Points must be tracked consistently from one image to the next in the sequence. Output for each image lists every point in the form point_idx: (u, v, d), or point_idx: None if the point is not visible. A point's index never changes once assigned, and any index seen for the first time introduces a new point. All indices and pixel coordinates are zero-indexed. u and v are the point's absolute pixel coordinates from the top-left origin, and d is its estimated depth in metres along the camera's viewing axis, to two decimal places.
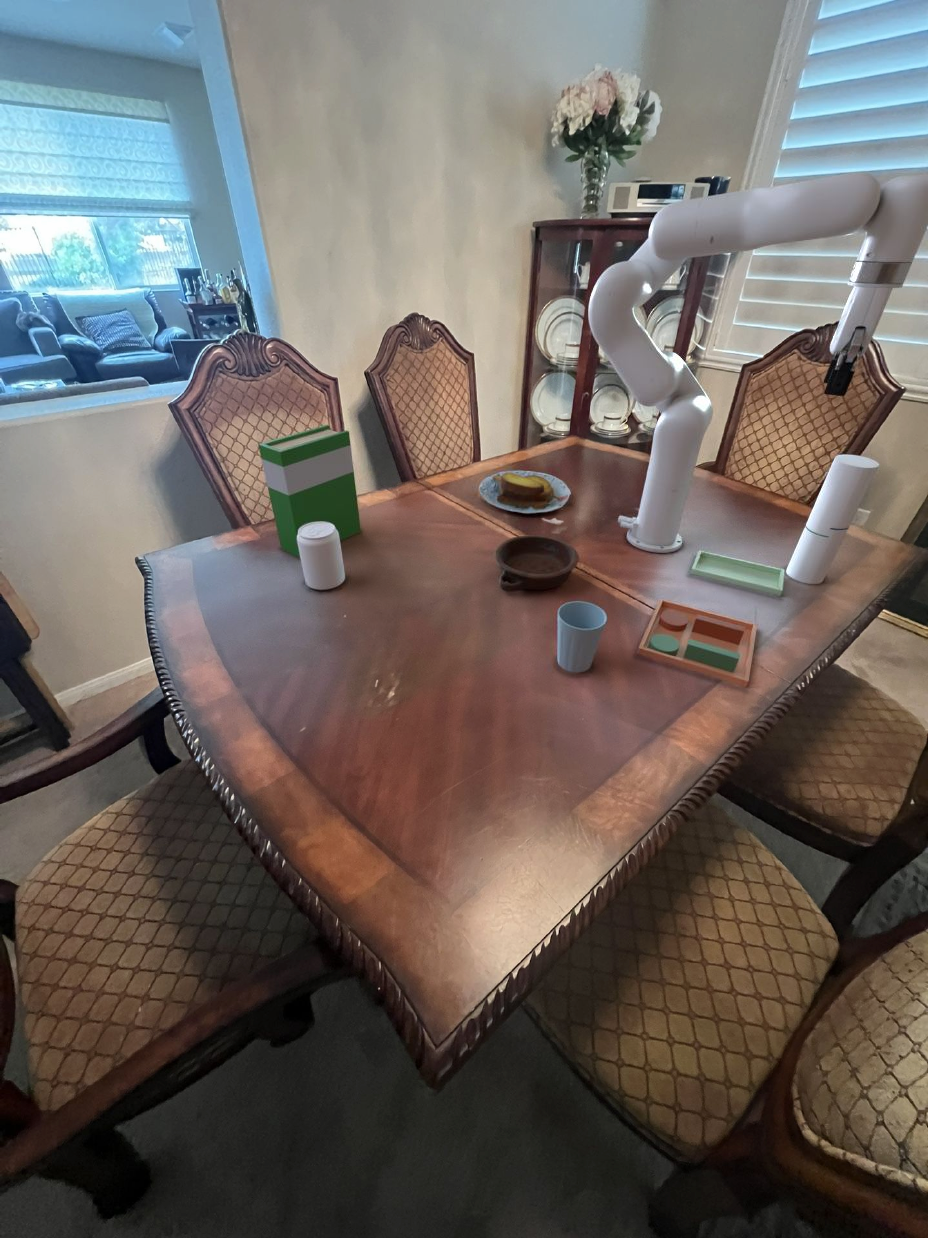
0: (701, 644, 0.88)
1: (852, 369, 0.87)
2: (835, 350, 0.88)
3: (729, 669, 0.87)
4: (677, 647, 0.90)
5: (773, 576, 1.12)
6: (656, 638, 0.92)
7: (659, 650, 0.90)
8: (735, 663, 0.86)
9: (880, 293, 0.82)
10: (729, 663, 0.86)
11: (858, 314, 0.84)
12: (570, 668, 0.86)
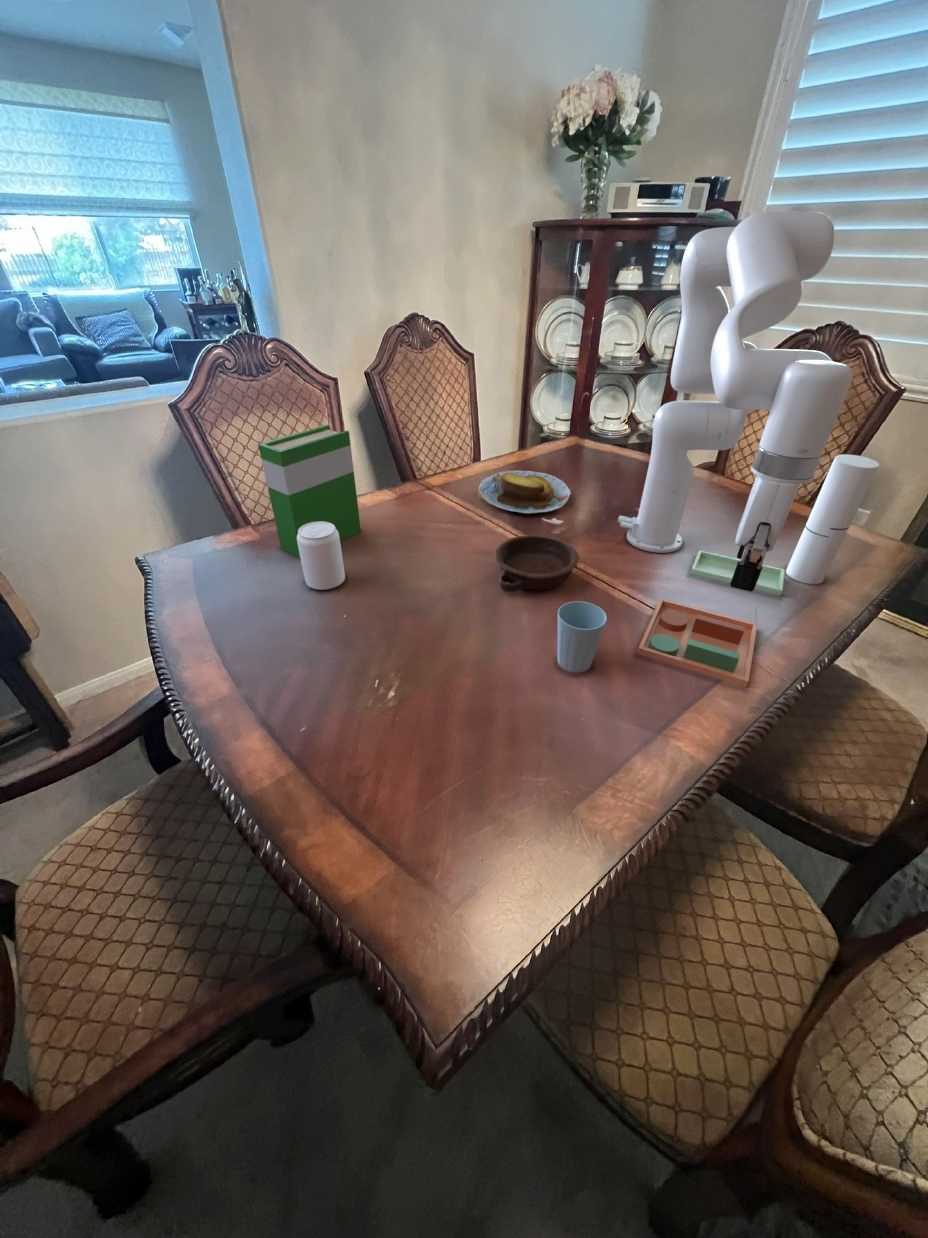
0: (701, 644, 0.88)
1: (758, 567, 0.73)
2: (739, 543, 0.74)
3: (729, 669, 0.87)
4: (677, 647, 0.90)
5: (773, 576, 1.12)
6: (656, 638, 0.92)
7: (659, 650, 0.90)
8: (735, 663, 0.86)
9: (785, 490, 0.69)
10: (729, 663, 0.86)
11: (761, 510, 0.70)
12: (570, 668, 0.86)
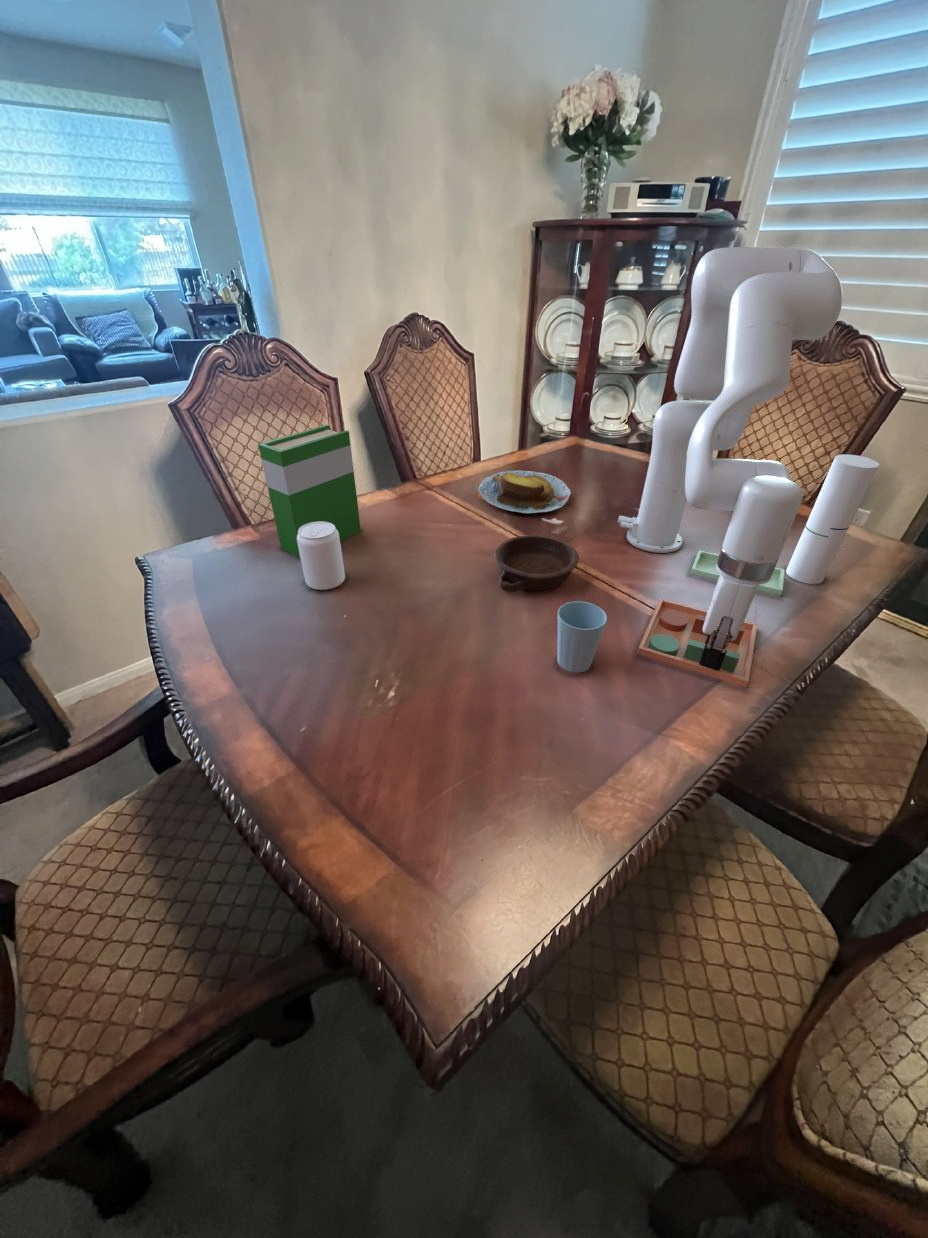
0: (701, 644, 0.88)
1: (722, 652, 0.83)
2: (705, 632, 0.80)
3: (729, 669, 0.87)
4: (677, 647, 0.90)
5: (773, 576, 1.12)
6: (656, 638, 0.92)
7: (659, 650, 0.90)
8: (735, 663, 0.86)
9: (744, 590, 0.75)
10: (729, 663, 0.86)
11: (724, 606, 0.77)
12: (570, 668, 0.86)
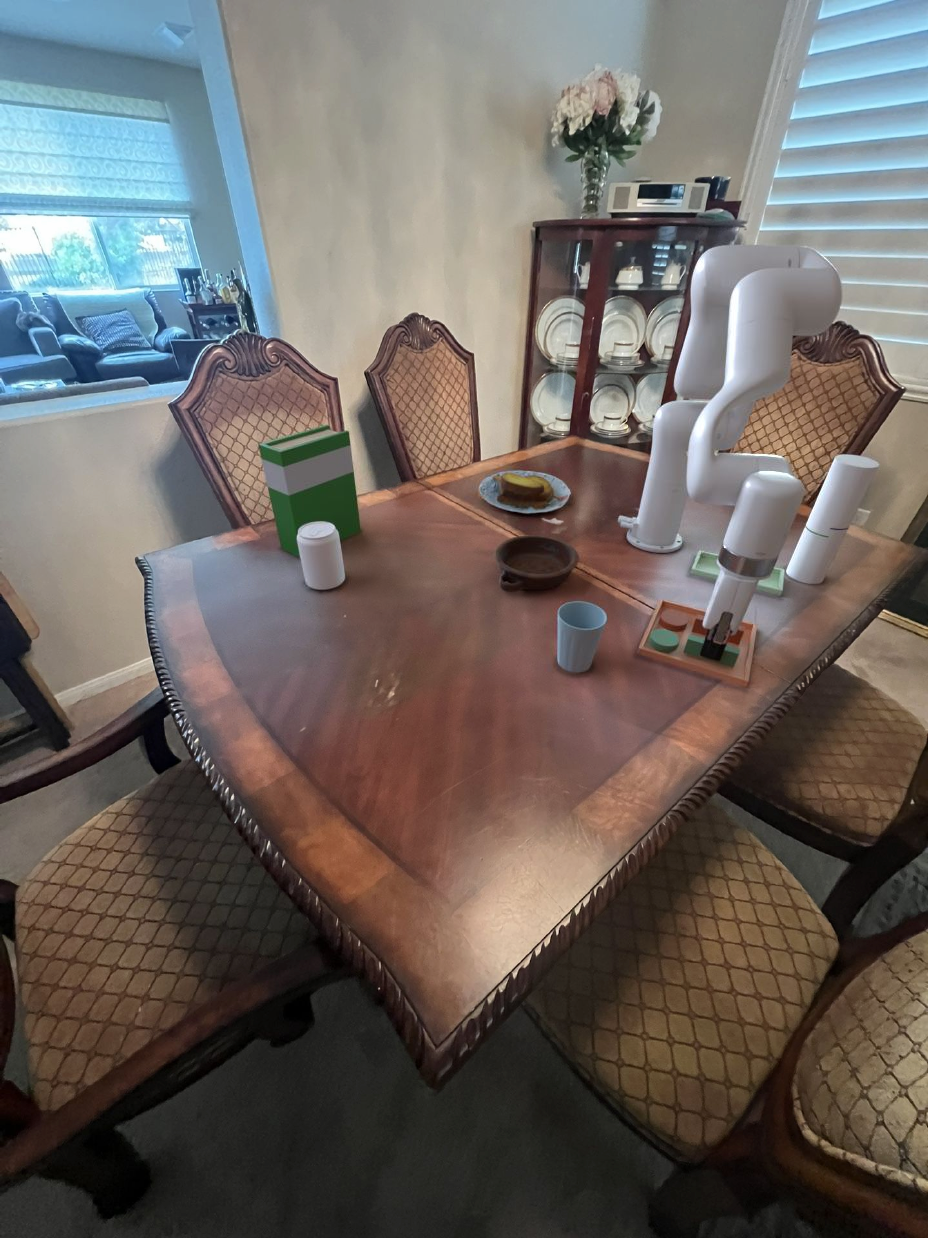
0: (701, 639, 0.88)
1: (723, 643, 0.84)
2: (705, 627, 0.81)
3: (729, 664, 0.87)
4: (677, 642, 0.90)
5: (773, 576, 1.12)
6: (656, 633, 0.92)
7: (659, 645, 0.89)
8: (735, 658, 0.86)
9: (745, 585, 0.75)
10: (729, 658, 0.86)
11: (724, 601, 0.77)
12: (570, 668, 0.86)
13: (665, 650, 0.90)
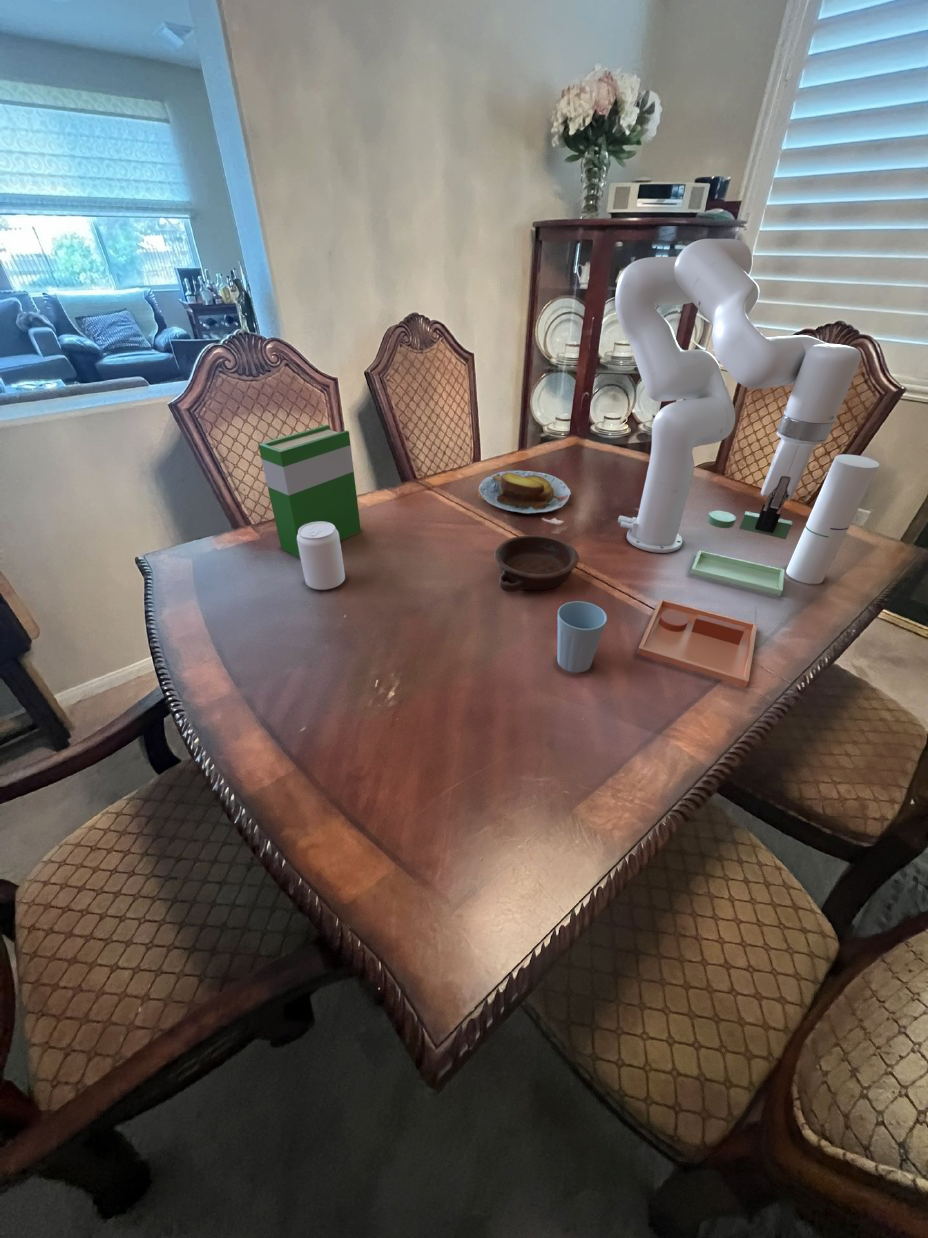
0: (757, 514, 0.98)
1: (777, 513, 0.94)
2: (763, 494, 0.91)
3: (782, 536, 0.97)
4: (734, 519, 1.00)
5: (773, 576, 1.12)
6: (714, 513, 1.02)
7: (718, 521, 1.00)
8: (788, 529, 0.96)
9: (803, 449, 0.86)
10: (782, 529, 0.97)
11: (783, 466, 0.88)
12: (570, 668, 0.86)
13: (723, 526, 1.00)
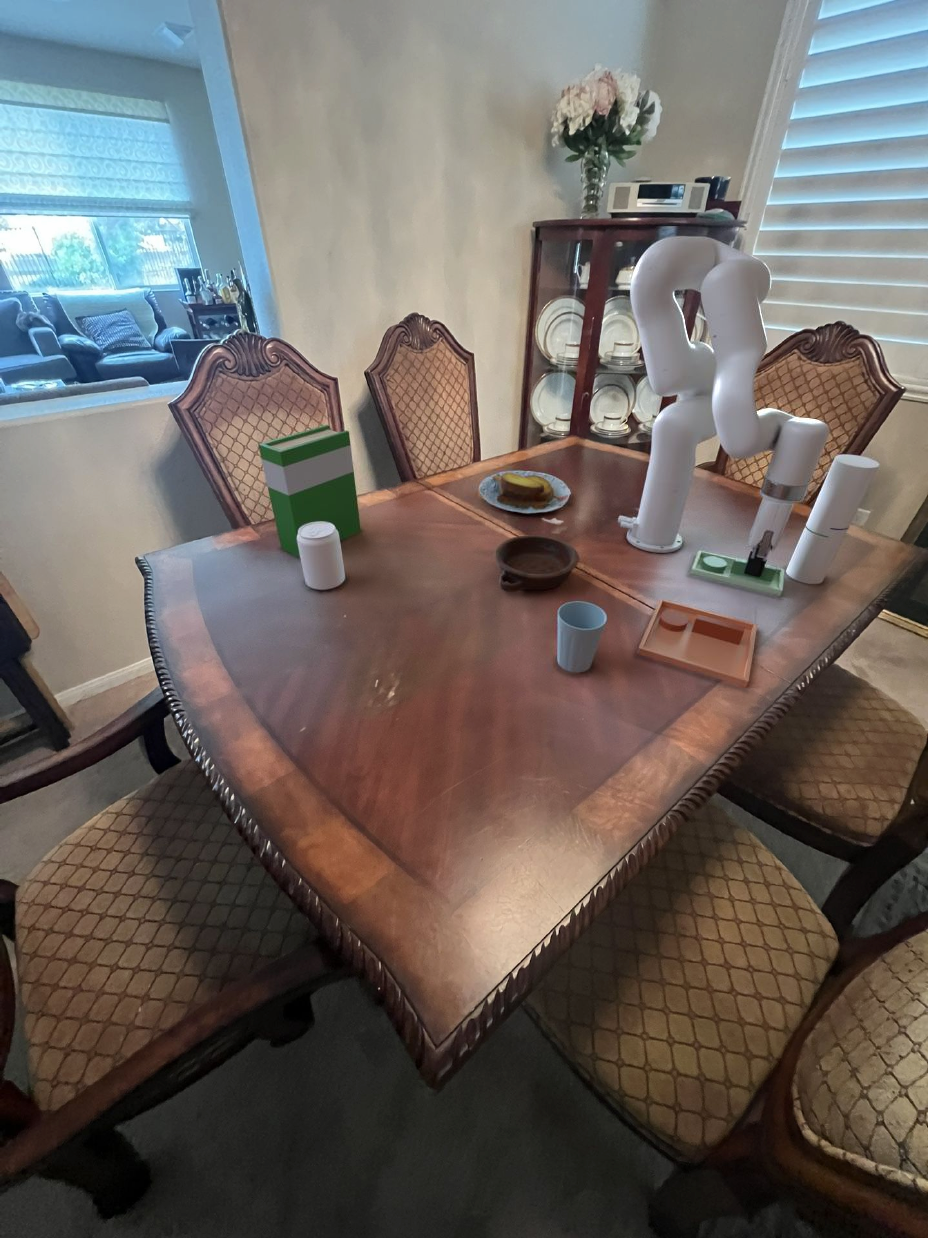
0: (745, 560, 1.10)
1: (763, 561, 1.06)
2: (750, 545, 1.03)
3: (768, 579, 1.09)
4: (725, 564, 1.12)
5: None
6: (707, 558, 1.14)
7: (711, 566, 1.12)
8: (773, 573, 1.08)
9: (783, 507, 0.98)
10: (768, 574, 1.08)
11: (766, 521, 0.99)
12: (570, 668, 0.86)
13: (716, 571, 1.12)
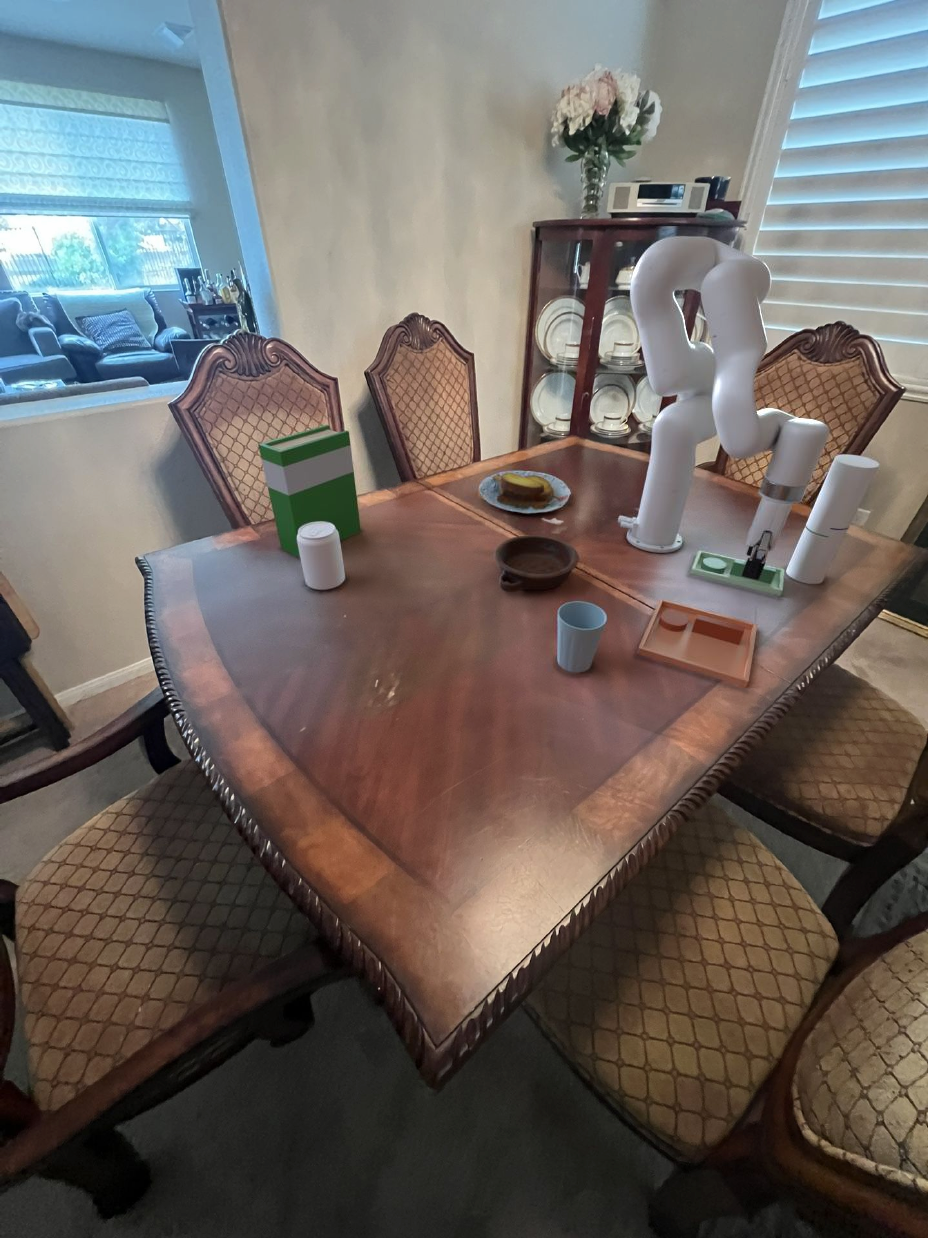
0: (745, 562, 1.10)
1: (762, 562, 1.03)
2: (749, 545, 1.03)
3: (767, 581, 1.09)
4: (725, 566, 1.12)
5: None
6: (707, 560, 1.14)
7: (710, 568, 1.12)
8: (773, 575, 1.08)
9: (782, 508, 0.98)
10: (768, 576, 1.08)
11: (765, 522, 1.00)
12: (570, 668, 0.86)
13: (715, 572, 1.12)
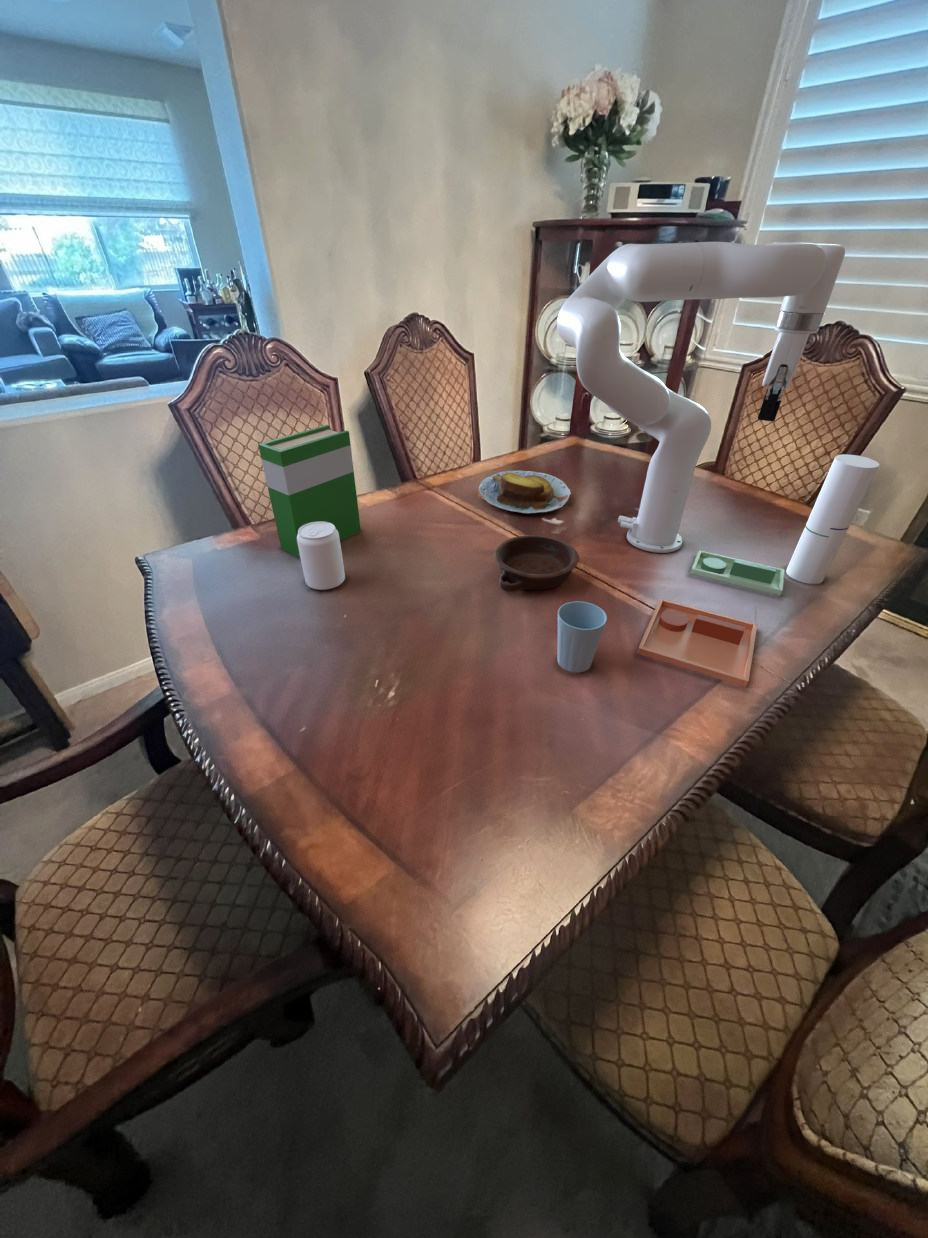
0: (745, 562, 1.10)
1: (778, 399, 1.04)
2: (764, 383, 1.05)
3: (767, 581, 1.09)
4: (725, 566, 1.12)
5: None
6: (707, 560, 1.14)
7: (710, 568, 1.12)
8: (773, 575, 1.08)
9: (798, 338, 0.99)
10: (768, 576, 1.08)
11: (781, 354, 1.01)
12: (570, 668, 0.86)
13: (715, 572, 1.12)
